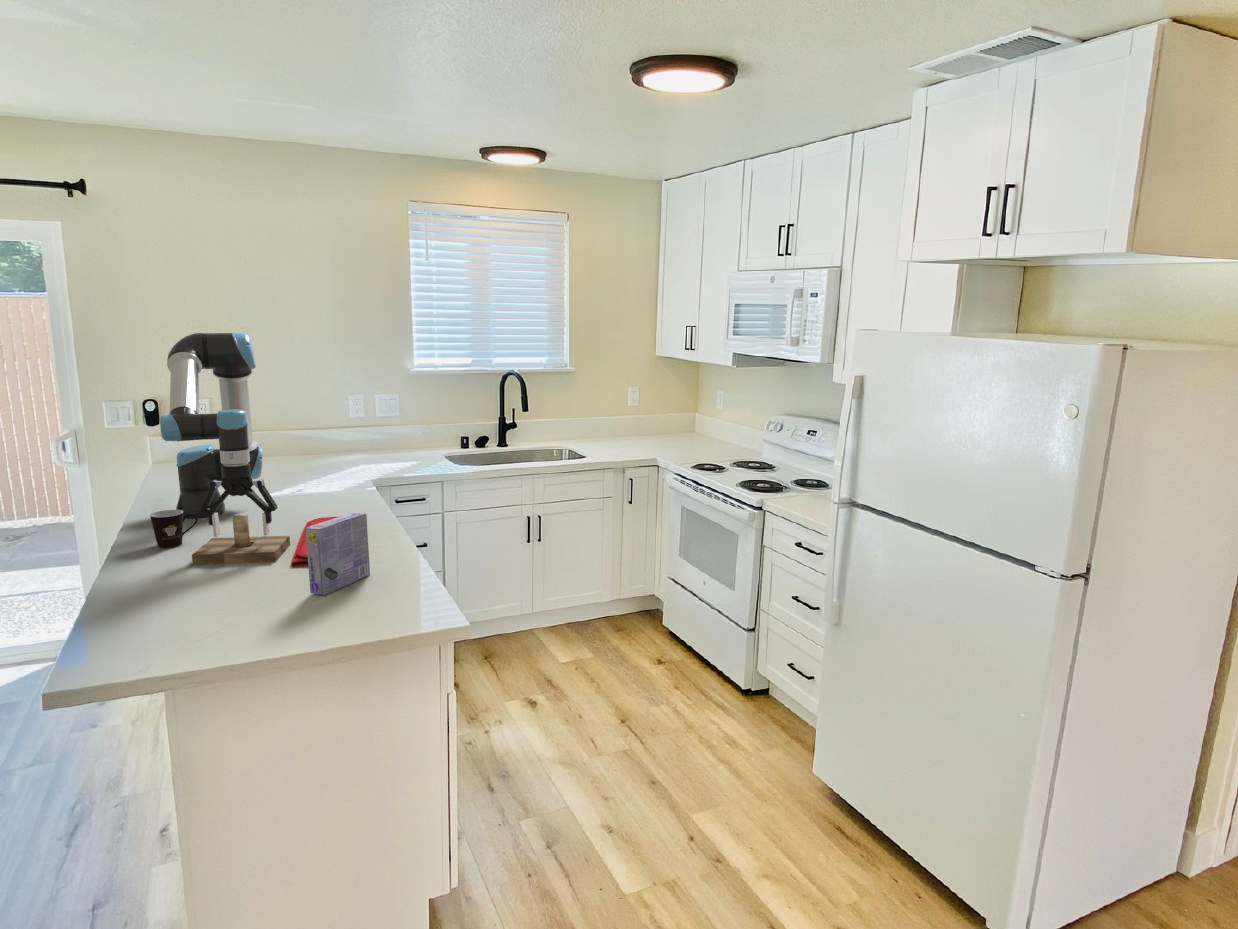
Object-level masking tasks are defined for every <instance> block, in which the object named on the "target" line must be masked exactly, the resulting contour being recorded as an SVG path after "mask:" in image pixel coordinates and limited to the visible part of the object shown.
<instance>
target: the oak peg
mask: <svg viewBox="0 0 1238 929" xmlns="http://www.w3.org/2000/svg"><path fill="white" fill-rule="evenodd" d="M231 518H232V526H233V537H234V540H235V547H236V548H241V547H249V546H250V545H251V544H250V537H251V536H250V527H249V526H250V525H249V515H248V513H236V514H233V515H232V516H231Z"/></svg>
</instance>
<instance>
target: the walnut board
mask: <svg viewBox="0 0 1238 929" xmlns="http://www.w3.org/2000/svg"><path fill="white" fill-rule="evenodd" d="M250 544H251V545H250V546H249V547H241V548H236V547H235V540H234V536H233V537H231V536H230V537H212V538H210V539H209V540H208V541H207V542H206V543H204V544H203V545H202V546H201V547H199V548H198V549H197V550H195V551H194V553H192V554H191V559H192V566H201V565H204V566H205V565H227V564H228V565H230V564H231V565H233V564H253V563H254V564H255V563H256V564H257V563H258V564H260V563H276V562H277V561H278V560H279V559H280V558H281V556H282V555H283V554H284V553H285V552H286V551H287V549H288V548H289V547H290V546H291V538H290V535H263V536H250Z"/></svg>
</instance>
